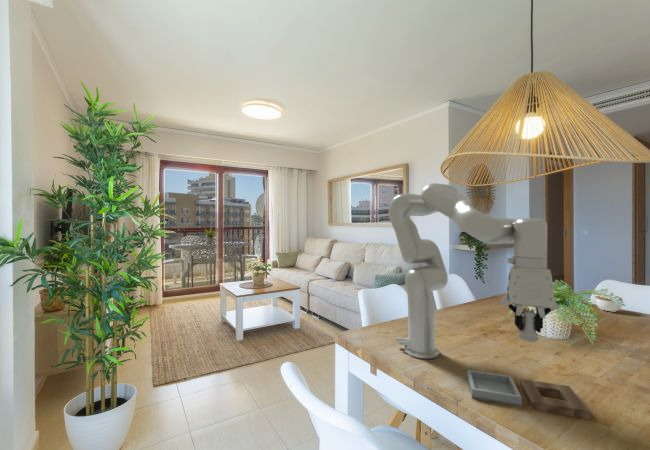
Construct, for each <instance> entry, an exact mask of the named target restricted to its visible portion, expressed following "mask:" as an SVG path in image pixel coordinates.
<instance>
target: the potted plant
mask: <svg viewBox="0 0 650 450" xmlns="http://www.w3.org/2000/svg"><path fill="white" fill-rule="evenodd" d="M594 297H595V303H596V307H597V308H598V309H600V310H601V309H602V310H606V311H615V312H616V311H617V312H619V311H620V310H621V308H622V306H621V305H619V304H618V303H616V302H615V301H612V300H610V299H608V298H604V297H600V296H594ZM617 297H618V298H619V299H620V300H621V301H622V302H623V297H621V296H620V297H619V296H617ZM602 310H601V311H602ZM617 312H616V313H617Z"/></svg>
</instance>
